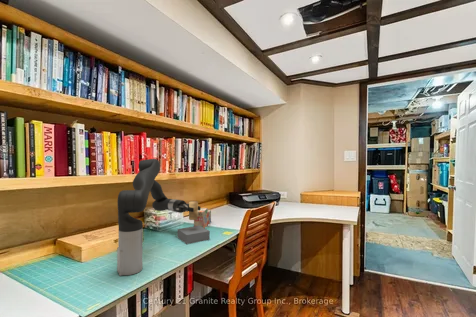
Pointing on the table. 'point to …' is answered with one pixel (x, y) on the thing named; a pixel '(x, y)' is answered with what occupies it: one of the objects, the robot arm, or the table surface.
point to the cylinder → (194, 214)
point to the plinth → (193, 234)
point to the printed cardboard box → (203, 218)
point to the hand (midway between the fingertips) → (196, 209)
